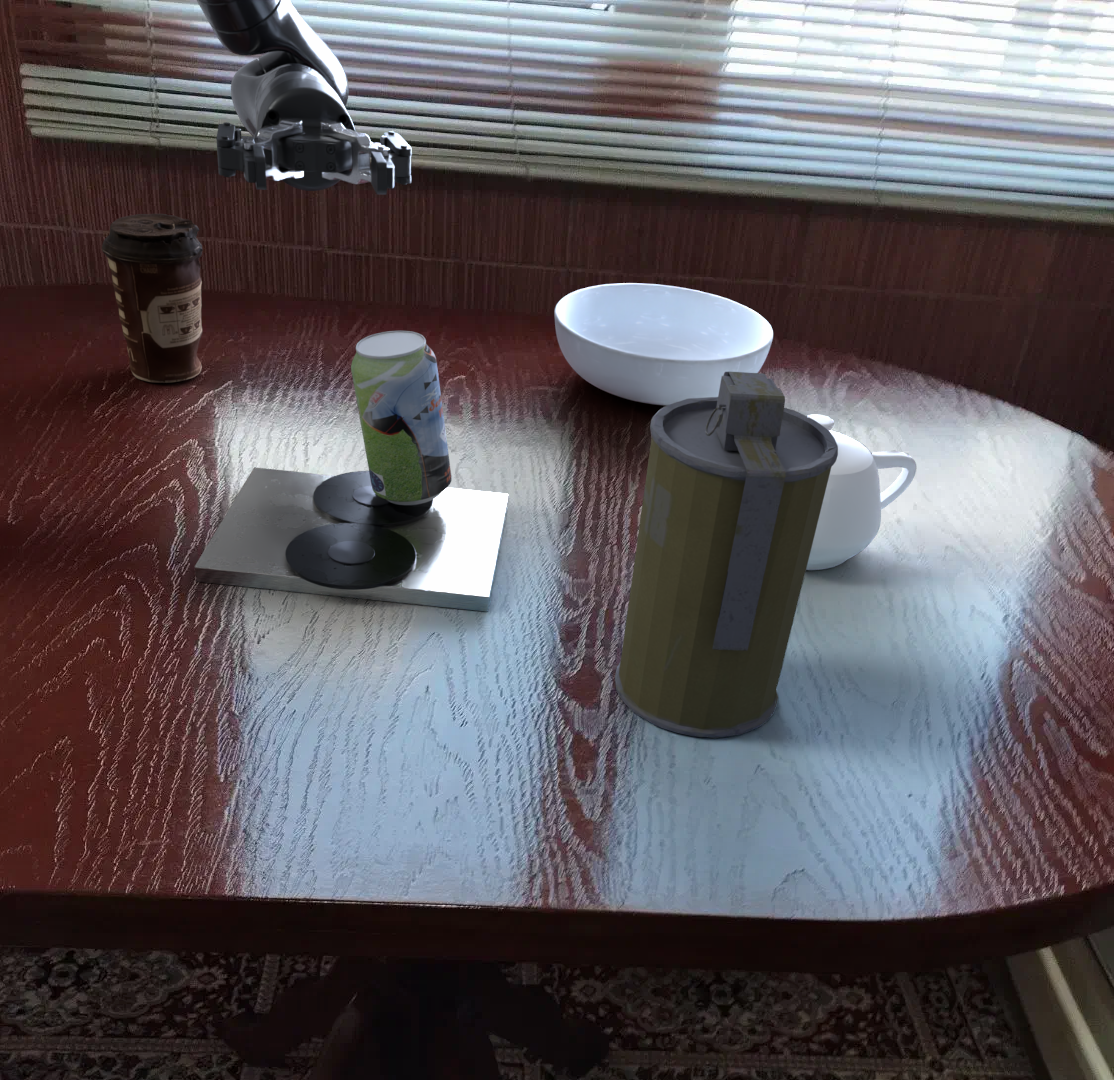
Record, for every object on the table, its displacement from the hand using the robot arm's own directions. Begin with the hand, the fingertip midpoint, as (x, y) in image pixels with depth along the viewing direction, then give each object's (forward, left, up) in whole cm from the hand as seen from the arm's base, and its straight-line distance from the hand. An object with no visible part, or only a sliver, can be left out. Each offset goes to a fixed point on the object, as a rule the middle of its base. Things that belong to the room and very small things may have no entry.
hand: (322, 177), depth 86 cm
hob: (+5, -13, -22) cm, 26 cm away
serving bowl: (+27, +24, -22) cm, 42 cm away
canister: (+29, -28, -22) cm, 46 cm away
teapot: (+37, -6, -22) cm, 43 cm away
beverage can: (+7, -8, -20) cm, 23 cm away
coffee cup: (-18, +15, -22) cm, 32 cm away
